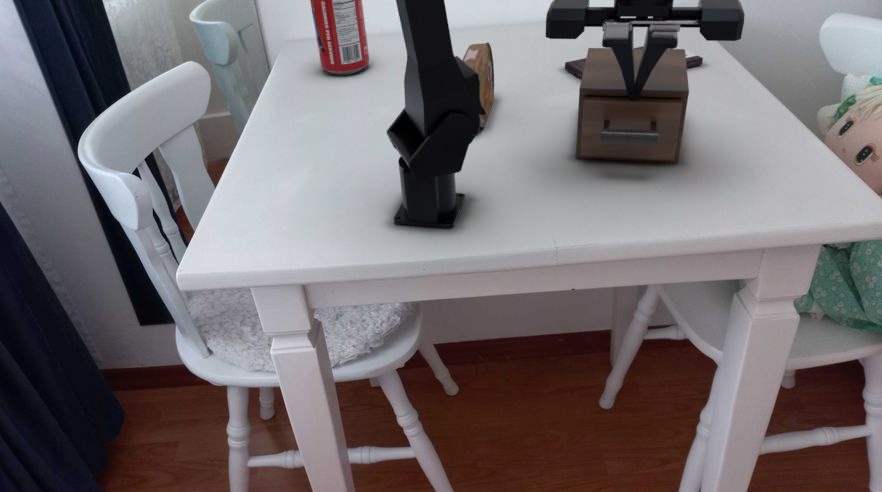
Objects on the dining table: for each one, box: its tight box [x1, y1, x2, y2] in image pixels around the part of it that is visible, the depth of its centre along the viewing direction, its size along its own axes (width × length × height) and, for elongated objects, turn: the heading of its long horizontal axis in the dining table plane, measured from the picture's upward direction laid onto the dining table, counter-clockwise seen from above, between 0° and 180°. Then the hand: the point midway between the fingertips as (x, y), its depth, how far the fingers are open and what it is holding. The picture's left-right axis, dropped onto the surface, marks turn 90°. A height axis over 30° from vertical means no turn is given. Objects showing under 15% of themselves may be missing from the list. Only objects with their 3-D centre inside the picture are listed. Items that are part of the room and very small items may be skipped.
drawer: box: [580, 95, 682, 160], centre depth 81 cm, size 17×10×7 cm, turn 166°
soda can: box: [309, 0, 370, 76], centre depth 109 cm, size 8×8×15 cm
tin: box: [462, 42, 495, 128], centre depth 93 cm, size 15×3×8 cm, turn 168°
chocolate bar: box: [564, 45, 704, 80], centre depth 105 cm, size 9×1×18 cm
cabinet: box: [575, 47, 690, 164], centre depth 84 cm, size 14×12×9 cm
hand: (633, 99), depth 75 cm, fingers closed
